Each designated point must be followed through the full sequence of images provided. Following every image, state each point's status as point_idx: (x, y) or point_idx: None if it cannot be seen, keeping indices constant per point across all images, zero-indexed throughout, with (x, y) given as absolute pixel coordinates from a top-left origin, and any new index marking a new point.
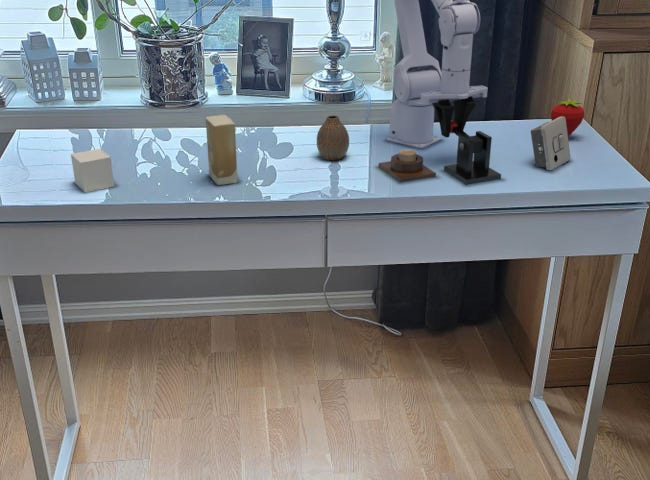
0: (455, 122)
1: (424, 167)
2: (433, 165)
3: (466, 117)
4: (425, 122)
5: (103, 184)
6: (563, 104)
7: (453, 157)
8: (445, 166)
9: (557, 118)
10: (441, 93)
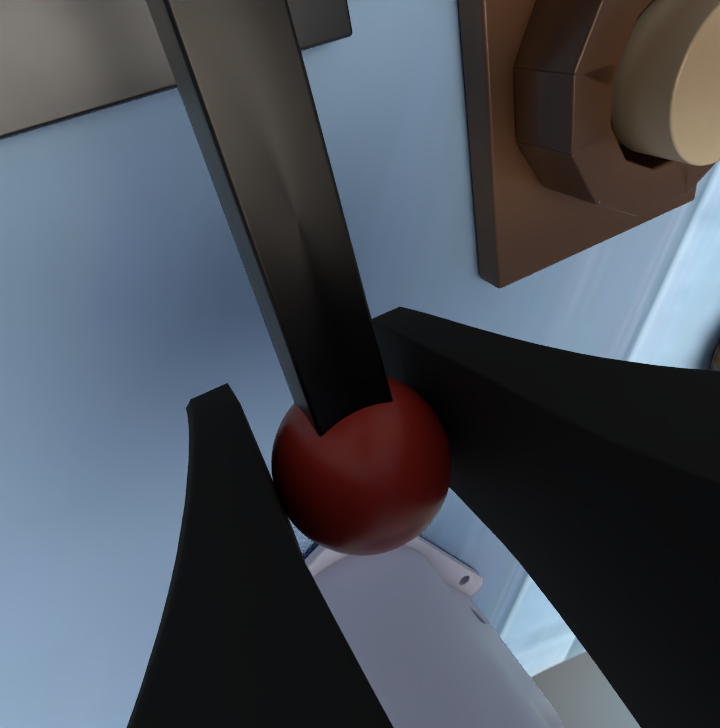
0: (364, 490)
1: (506, 49)
2: (368, 207)
3: (218, 578)
4: (400, 682)
5: None
6: None
7: (172, 386)
8: (345, 10)
9: None
10: None
